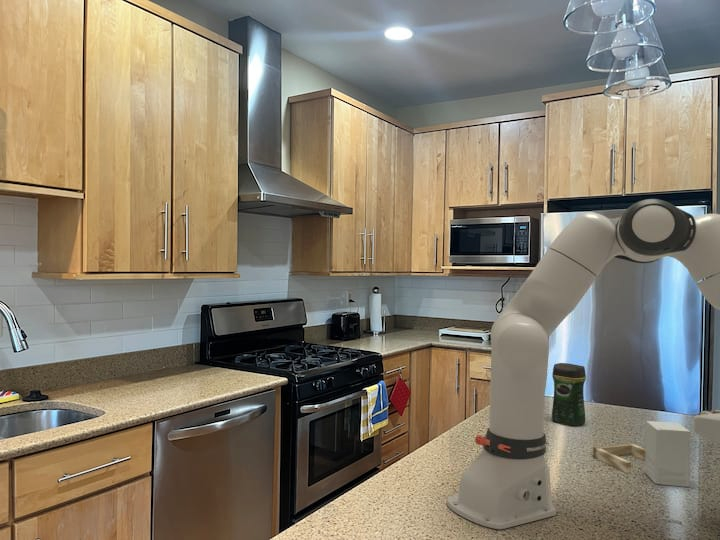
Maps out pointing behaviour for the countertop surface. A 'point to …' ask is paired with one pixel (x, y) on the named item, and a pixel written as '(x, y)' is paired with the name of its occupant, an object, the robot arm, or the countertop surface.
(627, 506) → the countertop surface
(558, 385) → the coffee jar
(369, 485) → the countertop surface
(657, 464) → the supplement box
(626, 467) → the corral
